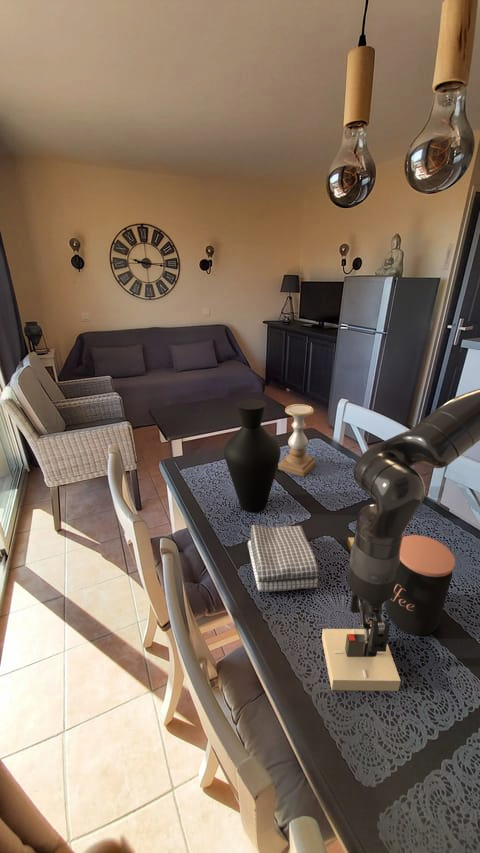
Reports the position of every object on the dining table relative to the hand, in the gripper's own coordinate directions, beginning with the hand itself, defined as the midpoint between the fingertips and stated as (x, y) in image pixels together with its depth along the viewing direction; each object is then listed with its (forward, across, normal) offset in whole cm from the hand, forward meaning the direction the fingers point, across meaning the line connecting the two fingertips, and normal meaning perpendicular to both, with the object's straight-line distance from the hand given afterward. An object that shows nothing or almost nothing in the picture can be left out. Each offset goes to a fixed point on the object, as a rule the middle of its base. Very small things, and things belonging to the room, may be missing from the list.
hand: (362, 631), depth 66 cm
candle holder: (+9, +75, +3) cm, 76 cm away
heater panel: (+9, 0, 0) cm, 9 cm away
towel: (+9, +25, +13) cm, 30 cm away
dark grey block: (+6, 0, 0) cm, 6 cm away
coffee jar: (+9, +10, -14) cm, 20 cm away
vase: (+9, +51, +20) cm, 56 cm away
